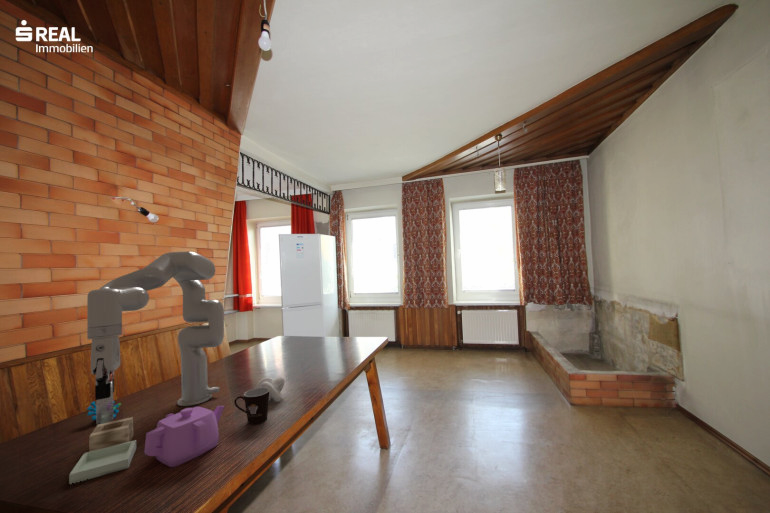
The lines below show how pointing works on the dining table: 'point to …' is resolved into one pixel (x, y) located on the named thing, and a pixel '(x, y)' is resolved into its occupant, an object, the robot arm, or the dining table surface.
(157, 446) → the teakettle
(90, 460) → the tray
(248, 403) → the coffee mug
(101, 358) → the robot arm
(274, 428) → the dining table surface
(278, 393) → the grey torus knot
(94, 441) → the socket block
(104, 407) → the metal peg
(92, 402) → the gear
